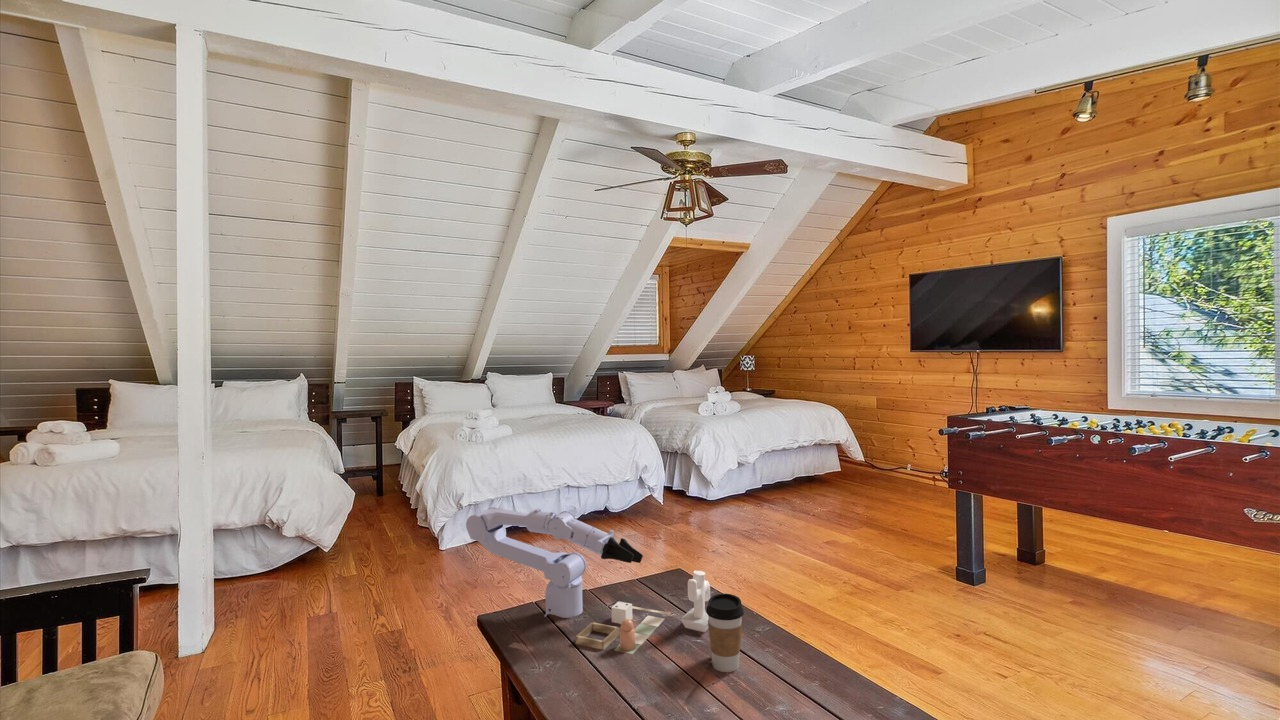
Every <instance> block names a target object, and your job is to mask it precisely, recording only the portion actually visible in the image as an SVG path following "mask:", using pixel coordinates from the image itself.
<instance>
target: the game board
mask: <svg viewBox="0 0 1280 720" xmlns="http://www.w3.org/2000/svg"><path fill="white" fill-rule="evenodd" d="M632 610H640V611H646V612H652V613H657V614H663V615H668V616H670V615H671V614H672V612H668V611H662V610H656V609H652V608H651V609H649V608H644V607H639V606H635V605H632ZM664 621H665V618H662V617H657V616H653V615H647V616H646V617H645V618H644V619H643V620H642V621H641V622H640V623H639V624H638V625H637V626H636V627H634V628H635V649H634V650H632V651H623V650H621V649H620V644H618V645H617V647H616V648H614V652H615V651H616V652H620V653H624V654H629V655H634V653H635V652H636V651H637V650H638V649H639V648H640V647H641V646H642V645H643V644H644V643H645V641H647V640H648V638H649V637H650V636H651V635H652V633H654V632H655V630H656V629H657V628H658V627H660V625H661V624H662V623H663V622H664ZM593 632H598V633H602V634H607V636H606V637H604V639H602V640H601V639H597V638H591V637H588V636H589V635H590V634H591V633H593ZM618 637H620V627H618V626H614V625H609V624H604V623H600V622H599V623H598V622H593V621H591V622H590V623H589V624H588V625H587V626H586V627H584V629H582V630H581V631H580V632H579V633H578V634H576V635H575V644H576V645H579V646H583V647H588V648H593V649H596V650H597V649H598V650H603V651H604V650H606V649H607V648H608V647H609V645H611V644H612V643H613V641H615V640H616V638H618Z"/></svg>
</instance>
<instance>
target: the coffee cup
mask: <svg viewBox="0 0 1280 720" xmlns="http://www.w3.org/2000/svg"><path fill="white" fill-rule="evenodd" d="M705 611H706V613H707V615H708V627H709V629H708V635H709V644H710V652H711V653H710V654H711V664H712V668H713V669H714V670H716V671H718V672H722V673H732V672H735V671H737V670H738V669H739V666H740V652H741V643H742V642H741V641H742V633H743V632H742V629H743V621H742V618H743V616H744V613H745V612H744V607H743V604H742V599H740V597H738V596H737V595H735V594H731V593H719V594H718V593H717V594H714V595H712V596H710V599H709V601H707V606H706V609H705Z"/></svg>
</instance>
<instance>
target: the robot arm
mask: <svg viewBox="0 0 1280 720" xmlns="http://www.w3.org/2000/svg"><path fill="white" fill-rule="evenodd" d="M465 526H466V531H467V533H468V535H469V538H470V539H471V540H473V541H476V542H478V543H479V544H481V546H483V547H484V548H485V549H486V550H487V551H488V552H489V553H490V554H493V555H496V556H497V557H500V558H503V559H506V560H508V561H509V560H510V561H512V562H515V563H517V564H521V565H524V566H527V567H529V568H532V569H534V570H538V571H540V572H543V574H544V578H545V579H546V580H549V581H548V584H547V585H546V589H545V595H544V596H545V614H544V616H543V617H544V618H545V617H547V616H548V615H553V616H557V617H560V618H563V619H572V618H573V619H574V618H575V617H577V616H580V614H582V613H583V612H584V610H583V608H584V607H583V574H584V573H585V572H586V570H587V561H586V559H585V558H584V556H583V555H582V554H581V553H579V552H571V553H569V552H565V551H561V552H559V551H558V552H552V551H549V550H546V549H543V548H541V547H537V546H534V545H532V544H529V543H525V542H523V541H520V540H517V539H515V538H511V537H508V536H507V530H506V526H514V527H515V526H517V527H525V528H526V529H527V531H529V532H530V533H538V534H544V535H551V536H552V537H553V539H554V540H561V539H564V540H566V541H569V542H571V543H573V544H575V545H578V546H579V547H582V548H584V549H586V550H588V551H591V552H593V553H595V554H597V555H599V556H600V558H601V559H602V560H615V561H618V562H622V563H628V564H632V562H633V563H636V564H637V563H639V564H641V562H642V559H643V557H644V555H643V554H642V553H641V552H640V551H638V550H637V549H635V548H634V547H632V545H631V544H630V543H629V542H628V541H627V540H626V539H625V538H623V537H621V538H620V540H619V542H617V539H616V538H615V536H614V535H615V531H614V530H613V529H610V530H609V532H605V531H603V530H601V529H599V528H597V527H594V526H592V525H590V524H587V523H585V522H583V521H581V520H578V519H577V517H576V516H575V515H574V514H573V513H572V512H570V511H566V510H564V511H561V512H560V513H557V511H554V510H552V511H551V512H550V511H543V510H542V508H535V509H534V510H531V511H530V512H529V513H525V512H521V511H515V510H511V509H505V508H503V507H500V506H499V507H497V506H492V507H488V508H487V509H485V510H483V511H480V512H478V513H475V514H473V515H470V516H468V517H467V518H466V523H465Z"/></svg>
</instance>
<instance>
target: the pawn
mask: <svg viewBox="0 0 1280 720" xmlns="http://www.w3.org/2000/svg"><path fill="white" fill-rule="evenodd" d="M634 626H635V625H634V622H633V621H632V619H631V620H630V619H625V620H623V621H622V623H621V624H620V627H619V645H620V649H621V650H623V651H632V650H634V649H635V644H636V643H635V628H636V627H634Z"/></svg>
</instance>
